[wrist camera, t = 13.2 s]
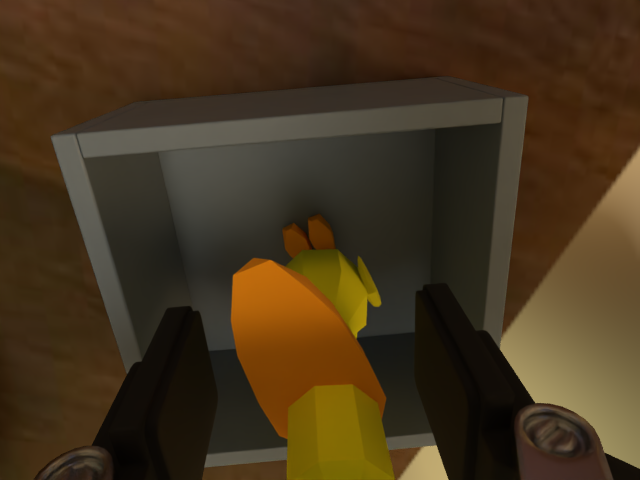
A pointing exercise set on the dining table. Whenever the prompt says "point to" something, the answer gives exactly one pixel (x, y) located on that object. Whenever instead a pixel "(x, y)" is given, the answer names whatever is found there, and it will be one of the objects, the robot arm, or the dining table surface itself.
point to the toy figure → (313, 356)
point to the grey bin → (300, 218)
